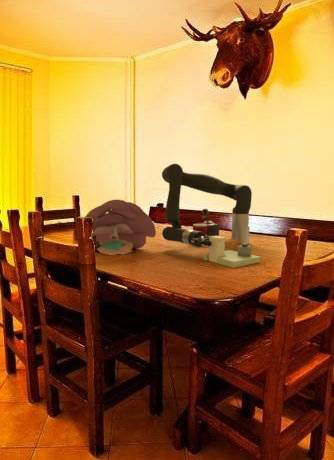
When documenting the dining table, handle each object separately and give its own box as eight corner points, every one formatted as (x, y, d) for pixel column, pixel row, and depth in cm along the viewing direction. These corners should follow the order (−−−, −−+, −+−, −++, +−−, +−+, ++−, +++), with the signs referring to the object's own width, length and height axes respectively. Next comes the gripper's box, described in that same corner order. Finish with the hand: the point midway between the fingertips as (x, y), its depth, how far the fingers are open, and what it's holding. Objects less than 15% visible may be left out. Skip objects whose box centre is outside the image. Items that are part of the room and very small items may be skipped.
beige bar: (216, 259, 163) (216, 235, 162) (225, 261, 158) (226, 237, 157) (208, 260, 161) (209, 236, 159) (218, 263, 156) (219, 238, 154)
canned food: (205, 245, 197) (206, 225, 196) (191, 244, 199) (191, 225, 197) (207, 243, 205) (207, 224, 203) (193, 242, 206) (193, 223, 205)
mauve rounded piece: (91, 268, 166) (87, 210, 155) (75, 249, 184) (71, 196, 174) (156, 253, 182) (157, 200, 172) (136, 237, 201) (136, 189, 191)
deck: (229, 255, 172) (230, 239, 171) (259, 262, 158) (260, 245, 157) (203, 259, 162) (204, 243, 161) (233, 267, 148) (234, 249, 147)
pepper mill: (220, 239, 217) (221, 210, 214) (205, 241, 211) (206, 210, 209) (205, 236, 230) (206, 208, 228) (191, 237, 225) (191, 208, 222)
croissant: (210, 259, 178) (213, 247, 173) (204, 247, 186) (207, 235, 181) (249, 257, 183) (253, 244, 178) (241, 244, 191) (245, 232, 186)
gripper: (182, 231, 166) (206, 236, 154) (204, 229, 175) (229, 233, 162) (182, 247, 167) (205, 253, 155) (204, 244, 176) (228, 249, 163)
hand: (217, 242), depth 158 cm, fingers open, 8 cm apart
